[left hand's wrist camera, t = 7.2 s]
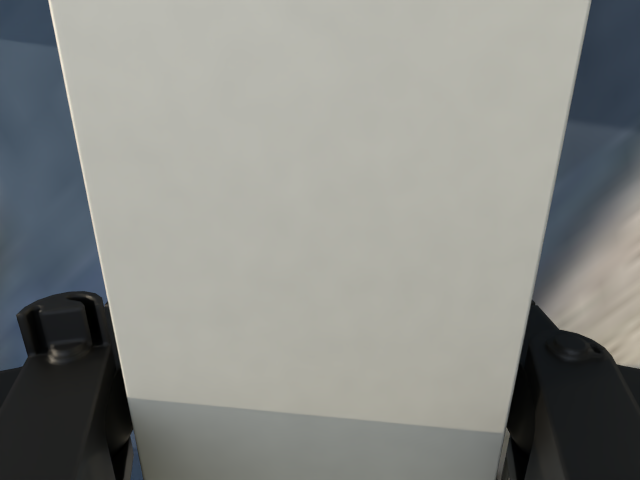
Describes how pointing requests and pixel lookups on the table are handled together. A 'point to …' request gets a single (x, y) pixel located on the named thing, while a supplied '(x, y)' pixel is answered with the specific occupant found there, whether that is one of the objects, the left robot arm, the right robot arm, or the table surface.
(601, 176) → the table surface
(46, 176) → the table surface
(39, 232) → the table surface
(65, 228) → the table surface
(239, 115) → the bar
